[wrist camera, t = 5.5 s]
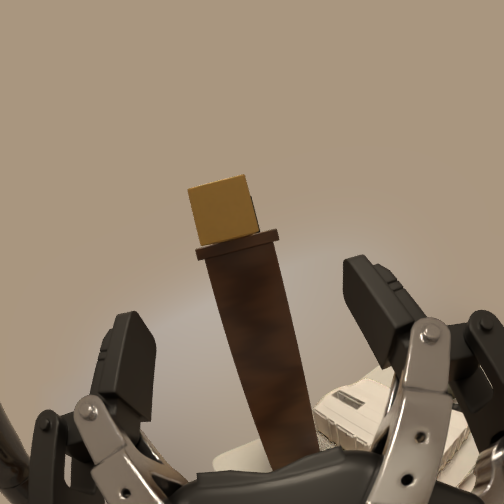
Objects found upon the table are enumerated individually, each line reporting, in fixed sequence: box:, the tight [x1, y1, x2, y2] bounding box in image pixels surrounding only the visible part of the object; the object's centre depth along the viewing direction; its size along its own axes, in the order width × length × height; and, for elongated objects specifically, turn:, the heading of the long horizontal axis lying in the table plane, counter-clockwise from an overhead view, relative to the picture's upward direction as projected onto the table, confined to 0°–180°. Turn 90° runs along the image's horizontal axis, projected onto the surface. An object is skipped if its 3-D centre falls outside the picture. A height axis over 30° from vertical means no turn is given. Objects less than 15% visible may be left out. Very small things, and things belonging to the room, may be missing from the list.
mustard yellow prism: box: [188, 174, 260, 246], centre depth 23 cm, size 5×20×4 cm, turn 2°
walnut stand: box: [195, 229, 320, 471], centre depth 30 cm, size 7×13×36 cm, turn 2°
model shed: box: [312, 378, 470, 471], centre depth 31 cm, size 25×15×7 cm, turn 23°
